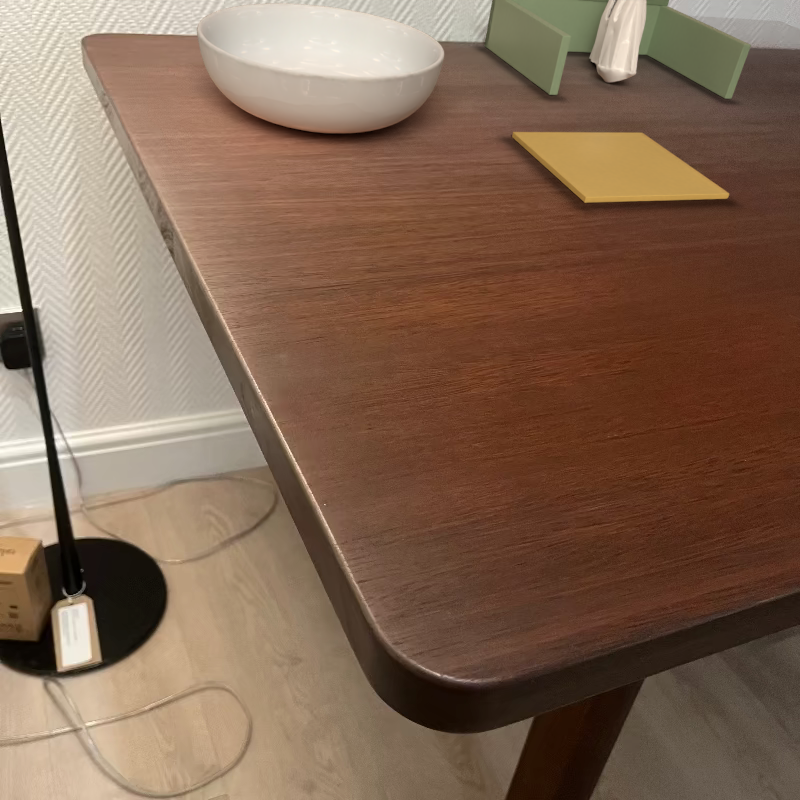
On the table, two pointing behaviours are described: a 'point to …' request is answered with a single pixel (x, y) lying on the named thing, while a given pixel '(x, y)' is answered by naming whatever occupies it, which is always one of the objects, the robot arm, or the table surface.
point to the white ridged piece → (619, 39)
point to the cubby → (576, 32)
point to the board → (617, 167)
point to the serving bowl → (319, 65)
